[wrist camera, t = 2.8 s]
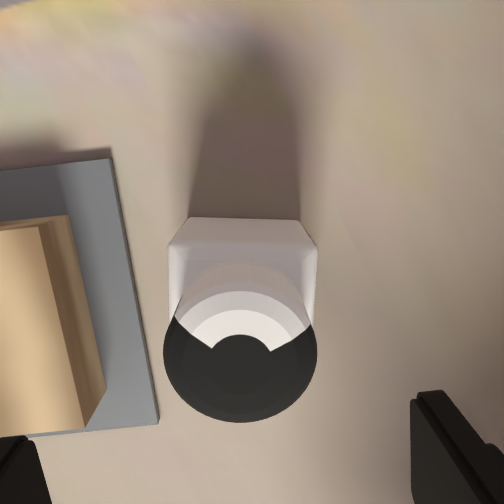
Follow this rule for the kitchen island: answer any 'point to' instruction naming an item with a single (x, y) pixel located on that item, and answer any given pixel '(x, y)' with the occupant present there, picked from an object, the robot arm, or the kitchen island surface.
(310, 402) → the kitchen island surface
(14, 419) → the oak block
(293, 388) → the medicine bottle
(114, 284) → the grey square mat
